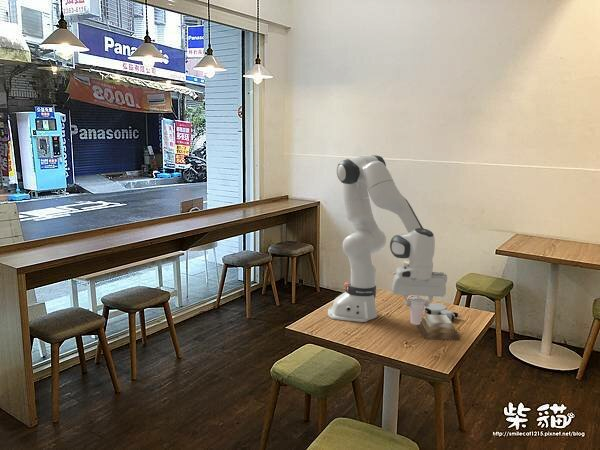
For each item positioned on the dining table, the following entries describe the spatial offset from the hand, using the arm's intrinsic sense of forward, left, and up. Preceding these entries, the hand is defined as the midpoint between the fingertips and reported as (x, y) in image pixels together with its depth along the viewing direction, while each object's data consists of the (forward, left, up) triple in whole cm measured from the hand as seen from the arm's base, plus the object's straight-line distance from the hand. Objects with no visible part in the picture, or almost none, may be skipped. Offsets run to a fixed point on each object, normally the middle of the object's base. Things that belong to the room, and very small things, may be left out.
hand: (417, 305), depth 191 cm
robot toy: (+18, +32, -17) cm, 40 cm away
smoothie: (0, 0, -7) cm, 7 cm away
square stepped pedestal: (+12, +14, -16) cm, 24 cm away
